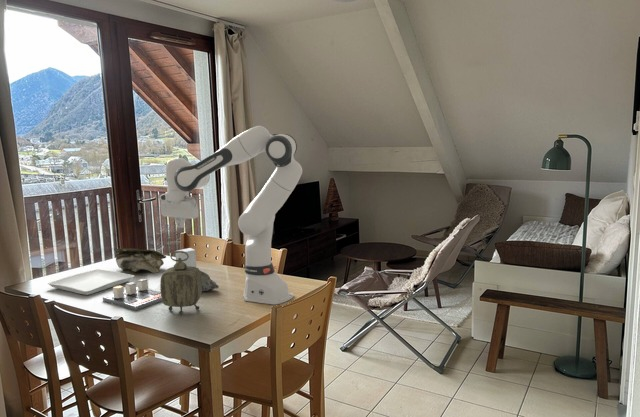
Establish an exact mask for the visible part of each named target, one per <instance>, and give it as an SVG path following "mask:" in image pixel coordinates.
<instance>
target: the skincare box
mask: <svg viewBox="0 0 640 417" xmlns="http://www.w3.org/2000/svg"><path fill="white" fill-rule="evenodd" d="M176 251H184V252H186V253H187V254H188V256H189V258H188V259H187V260H186V261H182V262H184V263H185V264H186V265H187V266H192V267H196V268H197V253H196V250H195V249H194V248H192V247H188V248H183V249H179V250H176ZM174 254H175V260H178V259H179V258H181V260H184V259H186V258H187V255H186V254H185V253H174ZM176 263H177V261H175V264H176Z"/></svg>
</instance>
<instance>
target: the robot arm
mask: <svg viewBox="0 0 640 417" xmlns="http://www.w3.org/2000/svg"><path fill="white" fill-rule="evenodd" d="M296 141H297V140H295V138H294V136H292V135H290V134H287V133H273V134H271V133H270V132H269V129H267V128H266V127H265V126H263V125H256V126H253V127H251V128H249V129H246V130H244V131H242V132H241V133H239V134H237V135H236V136H234V137H232V139H230V140H229V141H228V142H226V143H225V144H223V146H222V147H220V148H219V149H218V150H216V151H215V152H214V153H212V154H210V155H209V156H207V157H205V158H203V159H201V160H200V161H198V162H197V163H192V162H190V161H189V160H187V159H186V158H184V157H179V158H173V159H169V160H168V161H167V162H166V165H165V179H166V182H167V188H166V191H167V192H165V193H162V194H161V195H159V200H160V207H159V208H160V214H161V216H162V217H165V218H166V217H167V218H173V220H174V221H175V224H176V227H177V228H179V229H183V228H185V223H186V221H187V219H192V220H193V219H197V218H199V208H198V203H197V200H196V199H195V198H194V197H193V196H190V192H191V191H193V190H195V189H196V190H197V189H200V188H202V187H204V186H206V185H208V183H209V181H210V174H213V173H214V172H216V171H218V170H219V169H222V168H225V167H229V166H236V165H239V164H243V163H245V162H248V161H250V160H251V159H253V158H255V157H256V156H258V155H260V154H261V153H264V152H265V154H266V155H267V157H268V159H269V160H270V161H271V162H272V163H273V165H275V169H274V171H273V172H272V174H271V175H270V177H269V178H268V179H267V181H266V182H265V184H264V186H263V187H262V188H261V190H260V191H259V193H258V194H257V195H256V196H255V197H254V198H253V199H252V200H251V202H250V203H249V205H247V207H246V208H245V209H244V211H243V212H242V213H241V215H240V216H239V217H238V221H237V225H238V229H239V231H240V232H241V233H242V234H244V235H246V236H247V238H246V242H245V246H244V250H245V263H244V273H245V282H244V289H243V294H242V297H243V300H244V302H251V303H260V304H267V305H279V304H280V305H281V304H283V303H286V302H288V301H290V300H291V299H293V298H294V297H295V296H294V293H293V292H289V289H288V284H287V282H286V280H284V279H283V278H282V277H281V276H280V275H279V274H278V273H277V272H276V270H275V269H277V265H273V263H272V240H273V232H274V222H275V218H276V214H277V213H278V211H279V210H281V208H282V207H283V206H284V204H285V203H286V202H287V200H288V198H289V197H290V195H291V194H292V192H293V191H294V190H295V188H296V186H297V185H298V183H299V181H300V179H301V176H302V175H303V167H302V165H301V164H300V163H299V162H298V161H297V160H296V159H295V154H296V152H297V149H298V145H297V142H296Z"/></svg>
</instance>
